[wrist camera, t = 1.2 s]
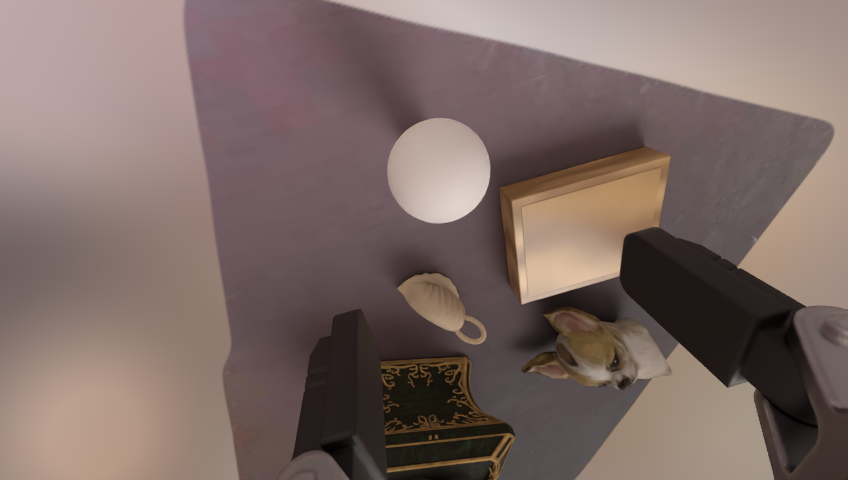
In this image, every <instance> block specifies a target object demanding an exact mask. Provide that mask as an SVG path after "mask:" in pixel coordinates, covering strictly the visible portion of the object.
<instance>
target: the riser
mask: <svg viewBox="0 0 848 480" xmlns="http://www.w3.org/2000/svg"><path fill="white" fill-rule="evenodd" d="M670 159H671V156H670V155H668V154H665V153H662V152H659V151H657V150H654V149H651V148H648V147H642V148H638V149H635V150H631V151H628V152H624V153H621V154H617V155H614V156H610V157H606V158H603V159H599V160H596V161H592V162H589V163H585V164H582V165H578V166H575V167H571V168H567V169H564V170H560V171H557V172H553V173H550V174H546V175H543V176H539V177H536V178H532V179H529V180H525V181H521V182H518V183H514V184H511V185H507V186H504V187H500V188H499V194H500V202H501V211H502V220H503V228H504V237H505V246H506V254H507V263H508V272H509V280H510V287H511V289H512V290H513V292H514V294H515V295H516V297H517V299H518V300H519V302H520V303H521V304H525V303H529V302H532V301H535V300H539V299H542V298H546V297H549V296H553V295H556V294H560V293H563V292H567V291H570V290H573V289H577V288H580V287H584V286H587V285H591V284H594V283H598V282H601V281H605V280H608V279H611V278H615V277H618V276H620V266H621V257H622V249H623V241H624V238H625V236H626V235H627V234H630V233H633V232H637V231H640V230H644V229H647V228H651V227H658V226H659V221H660V215H661V209H662V204H663V198H664V192H665V187H666V181H667V176H668V170H669V164H670Z"/></svg>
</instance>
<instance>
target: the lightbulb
mask: <svg viewBox="0 0 848 480" xmlns="http://www.w3.org/2000/svg"><path fill="white" fill-rule="evenodd" d="M387 175H388V182H389V187H390V189H391V192H392V194H393V196H394V198H395V199H396V201H397V202H398V204H399V205H400V206H401V207H402V208H403V209H404V210H405V211H406V212H407V213H409V214H410V215H412V216H413V217H415V218H417V219H420V220H422V221H425V222H430V223H446V222H451V221H454V220H457V219H460V218H461V217H463V216H465V215H467V214H468V213H469V212H471V211H472V210H473V209H474V208H475V207H476V206H477V205H478V204H479V203H480V201H481V200H482V198H483V197H484V195H485V193H486V190H487V188H488V184H489V180H490V161H489V156H488V153H487V151H486V148H485V146H484V144H483V142H482V141H481V139H480V138H479V136H478V135H477V134H476V133H475V132H473V131H472V130H471V129H470V128H469V127H468V126H466V125H464V124H462V123H460V122H458V121H455V120H452V119H446V118H435V119H428V120H425V121H422V122H419V123H417V124H415V125H413V126H412V127H410V128H409V129H407V130H406V131H405V132H404V133H403V134H402V135H401V136H400V138H399V139H398V140H397V142H396V143H395V144H394V146H393V149H392V151H391V153H390V156H389V160H388V166H387Z"/></svg>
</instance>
